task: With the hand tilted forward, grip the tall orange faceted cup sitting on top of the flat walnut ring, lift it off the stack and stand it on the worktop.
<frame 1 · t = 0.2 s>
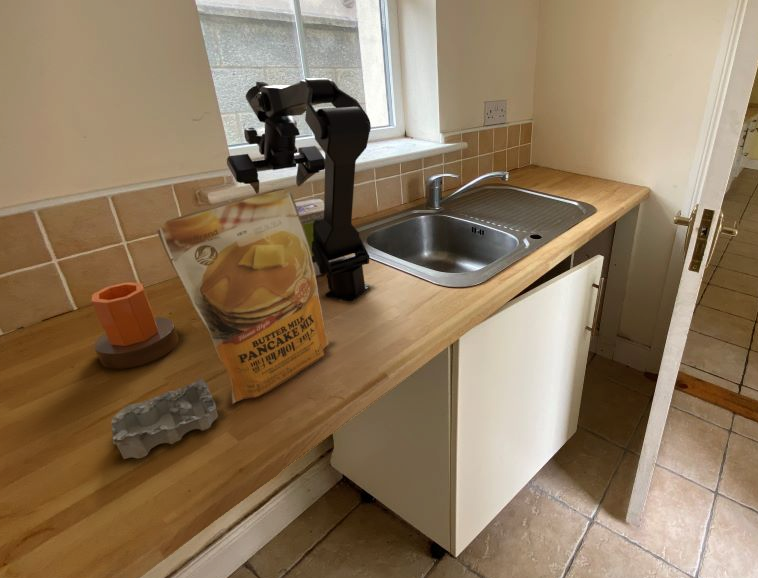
hand: (277, 188, 106), 15 cm above the countertop, tool tilted 35°, fingers open, 9 cm apart
orange faceted cup: (135, 334, 73), point 3 cm above the countertop, touching walnut ring base
walnut ring base: (141, 349, 74), on the countertop
pancake mix bag: (281, 370, 71), on the countertop
egg carton: (170, 428, 60), on the countertop
tea box: (305, 271, 101), on the countertop
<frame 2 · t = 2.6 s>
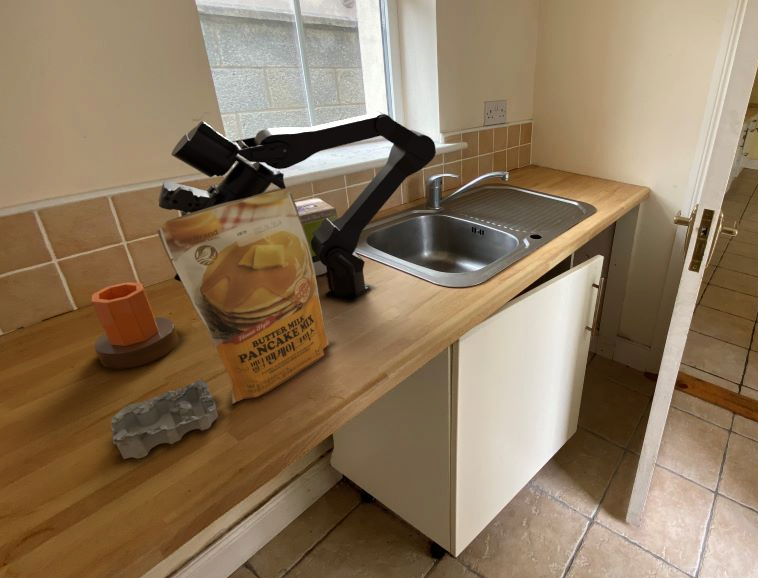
hand: (175, 268, 73), 13 cm above the countertop, tool tilted 45°, fingers open, 9 cm apart
nothing on the countertop moved.
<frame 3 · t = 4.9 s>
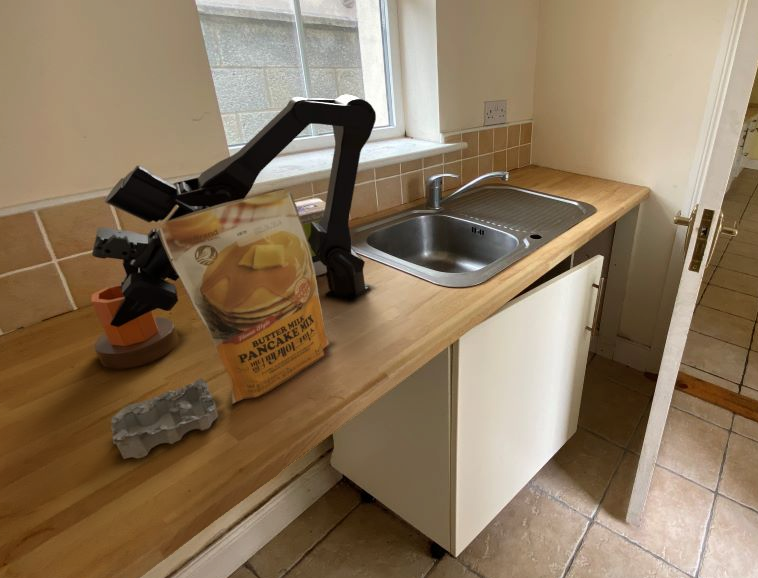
hand: (114, 315, 70), 7 cm above the countertop, tool tilted 45°, fingers closed on orange faceted cup, 6 cm apart
orange faceted cup: (135, 334, 73), point 3 cm above the countertop, touching gripper, walnut ring base
everything else where it was.
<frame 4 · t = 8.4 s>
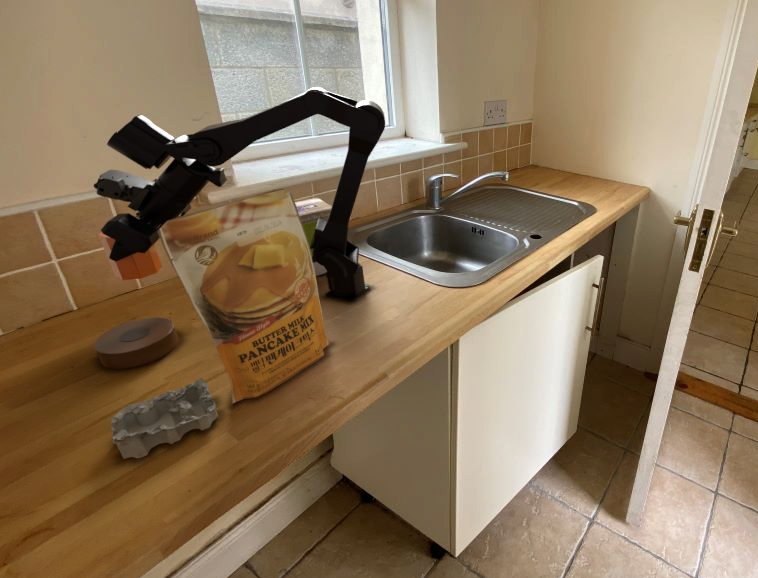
hand: (121, 251, 77), 13 cm above the countertop, tool tilted 45°, fingers closed on orange faceted cup, 6 cm apart
orange faceted cup: (139, 271, 79), point 9 cm above the countertop, touching gripper
everything else where it was.
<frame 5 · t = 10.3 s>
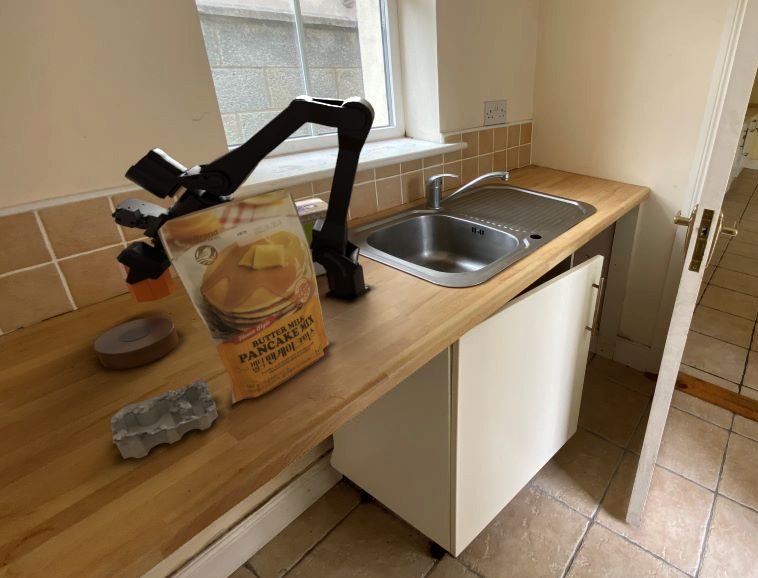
hand: (138, 274, 81), 7 cm above the countertop, tool tilted 45°, fingers closed on orange faceted cup, 6 cm apart
orange faceted cup: (154, 293, 83), point 3 cm above the countertop, touching gripper
everything else where it was.
when the fingers open (4 cm above the countertop, at t = 11.9 s): orange faceted cup stays where it is, on the countertop.
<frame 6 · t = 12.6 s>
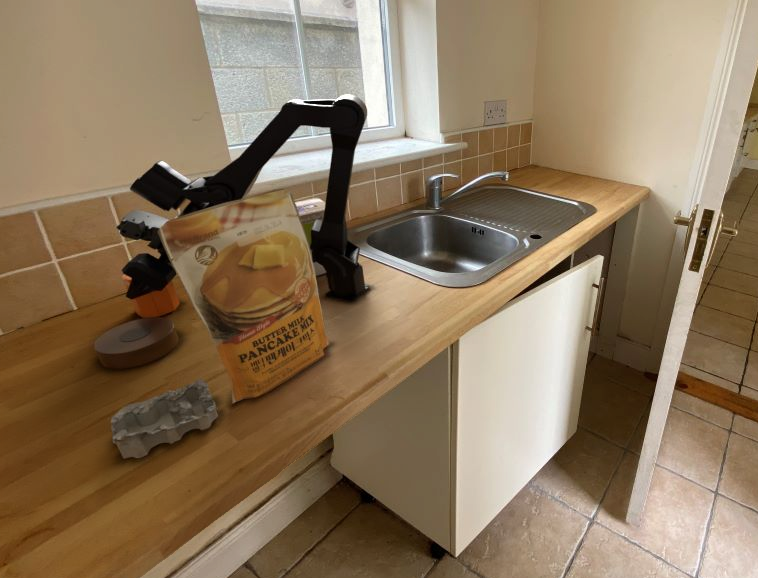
hand: (142, 285, 82), 5 cm above the countertop, tool tilted 45°, fingers open, 9 cm apart
orange faceted cup: (158, 308, 85), on the countertop
everything else where it was.
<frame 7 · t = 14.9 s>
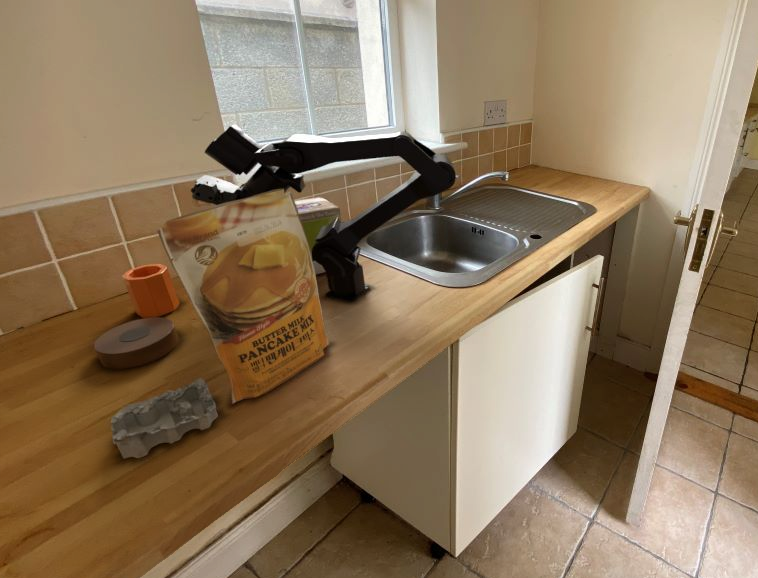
hand: (209, 251, 83), 11 cm above the countertop, tool tilted 45°, fingers open, 9 cm apart
tea box: (304, 269, 101), on the countertop, touching gripper
everything else where it was.
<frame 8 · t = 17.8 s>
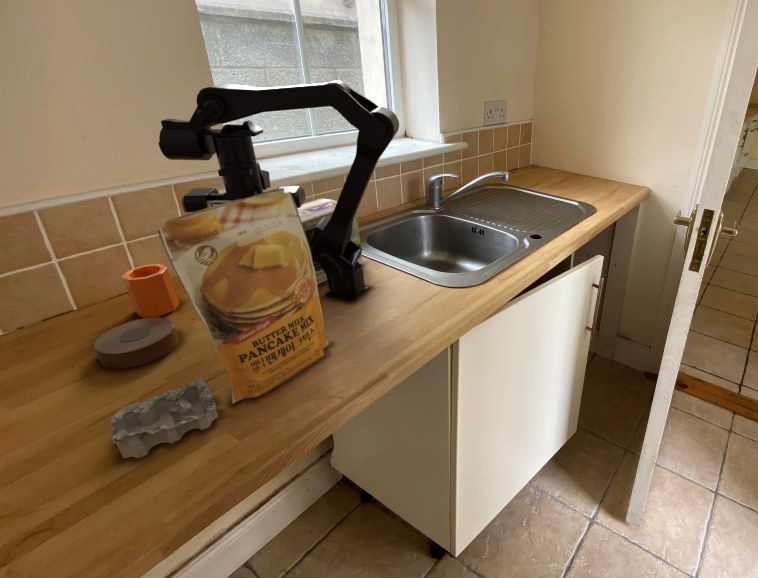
hand: (256, 241, 86), 12 cm above the countertop, tool pointing down, fingers open, 9 cm apart
tea box: (322, 271, 100), on the countertop, touching gripper
everything else where it was.
at the end: orange faceted cup inside the target area (0.1 cm from its centre), on the countertop; orange faceted cup tilted 0°; orange faceted cup touching countertop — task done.
